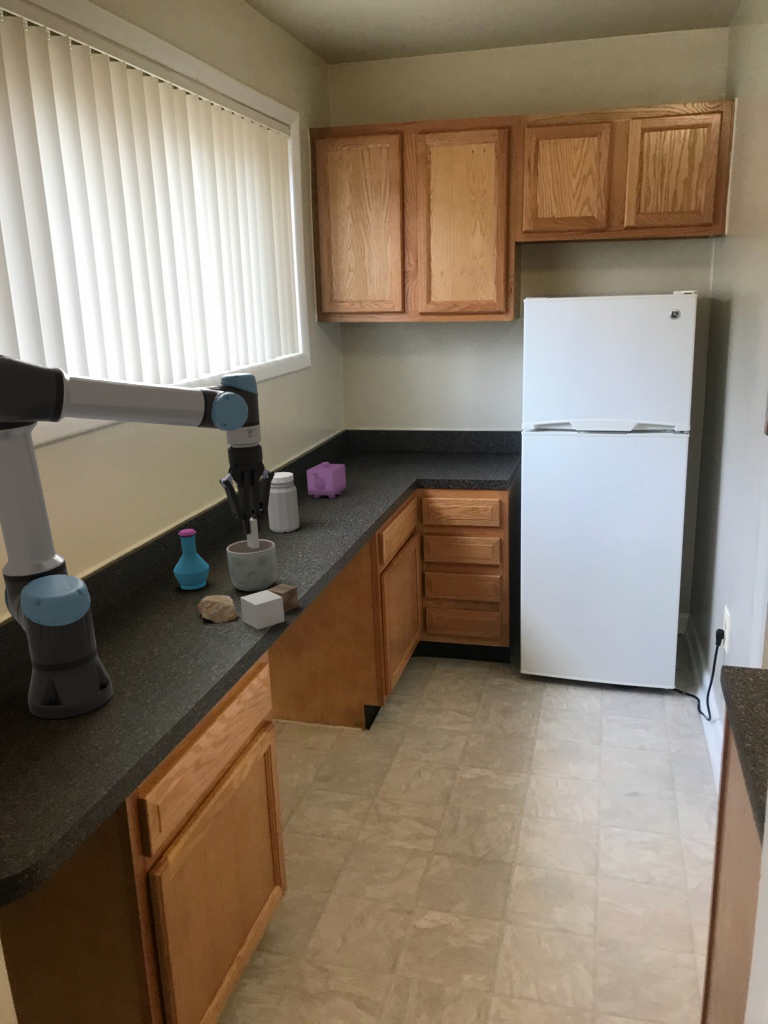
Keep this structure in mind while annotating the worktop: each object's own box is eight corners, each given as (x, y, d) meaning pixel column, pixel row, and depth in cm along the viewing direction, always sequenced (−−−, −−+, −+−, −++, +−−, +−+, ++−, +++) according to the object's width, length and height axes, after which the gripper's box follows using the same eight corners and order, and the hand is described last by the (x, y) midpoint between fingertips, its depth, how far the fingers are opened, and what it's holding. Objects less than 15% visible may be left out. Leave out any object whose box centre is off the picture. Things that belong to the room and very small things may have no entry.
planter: (242, 598, 210) (238, 556, 207) (223, 585, 220) (218, 545, 217) (286, 586, 217) (283, 546, 214) (265, 575, 227) (262, 536, 224)
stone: (232, 606, 206) (230, 588, 205) (240, 620, 196) (238, 602, 195) (197, 612, 203) (195, 594, 202) (204, 627, 193) (201, 608, 192)
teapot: (325, 489, 323) (322, 457, 320) (349, 490, 319) (347, 458, 316) (302, 502, 305) (299, 468, 302) (327, 503, 301) (324, 469, 298)
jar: (295, 533, 265) (291, 477, 260) (265, 533, 267) (260, 478, 262) (303, 525, 274) (299, 471, 270) (274, 525, 276) (269, 471, 271)
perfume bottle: (192, 577, 228) (186, 524, 224) (218, 582, 223) (212, 527, 219) (168, 588, 220) (161, 533, 217) (194, 593, 216) (187, 537, 212)
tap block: (257, 630, 190) (255, 605, 188) (242, 621, 195) (240, 597, 193) (284, 621, 194) (282, 597, 192) (269, 613, 199) (266, 589, 198)
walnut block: (284, 613, 199) (282, 593, 197) (269, 609, 202) (267, 589, 200) (298, 606, 203) (296, 586, 201) (283, 602, 206) (281, 583, 204)
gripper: (225, 450, 179) (235, 556, 185) (278, 442, 187) (286, 544, 192) (209, 446, 185) (219, 549, 190) (261, 438, 192) (269, 537, 198)
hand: (253, 546), depth 191 cm, fingers closed
